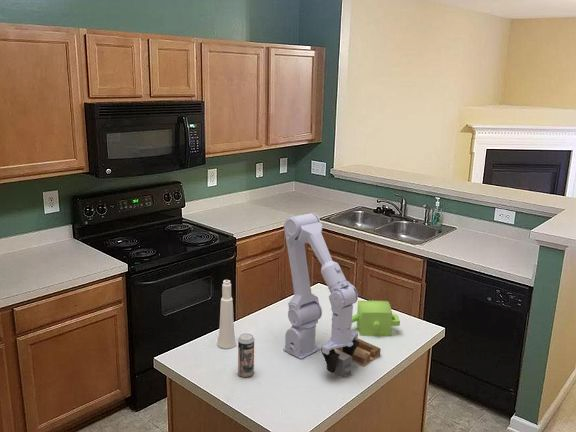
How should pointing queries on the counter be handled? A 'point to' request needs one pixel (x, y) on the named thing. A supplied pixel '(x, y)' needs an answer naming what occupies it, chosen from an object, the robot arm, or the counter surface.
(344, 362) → the block
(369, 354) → the pocket block
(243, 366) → the beer can
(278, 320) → the counter surface
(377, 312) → the gearbox
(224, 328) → the cosmetic bottle
